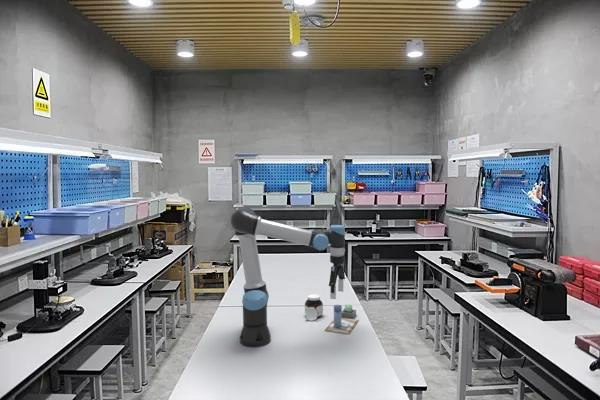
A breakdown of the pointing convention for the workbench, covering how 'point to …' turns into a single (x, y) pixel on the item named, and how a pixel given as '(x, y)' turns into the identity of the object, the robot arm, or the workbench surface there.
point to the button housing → (348, 314)
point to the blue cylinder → (337, 316)
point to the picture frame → (343, 326)
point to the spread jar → (313, 307)
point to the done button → (348, 308)
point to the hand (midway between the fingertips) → (337, 295)
